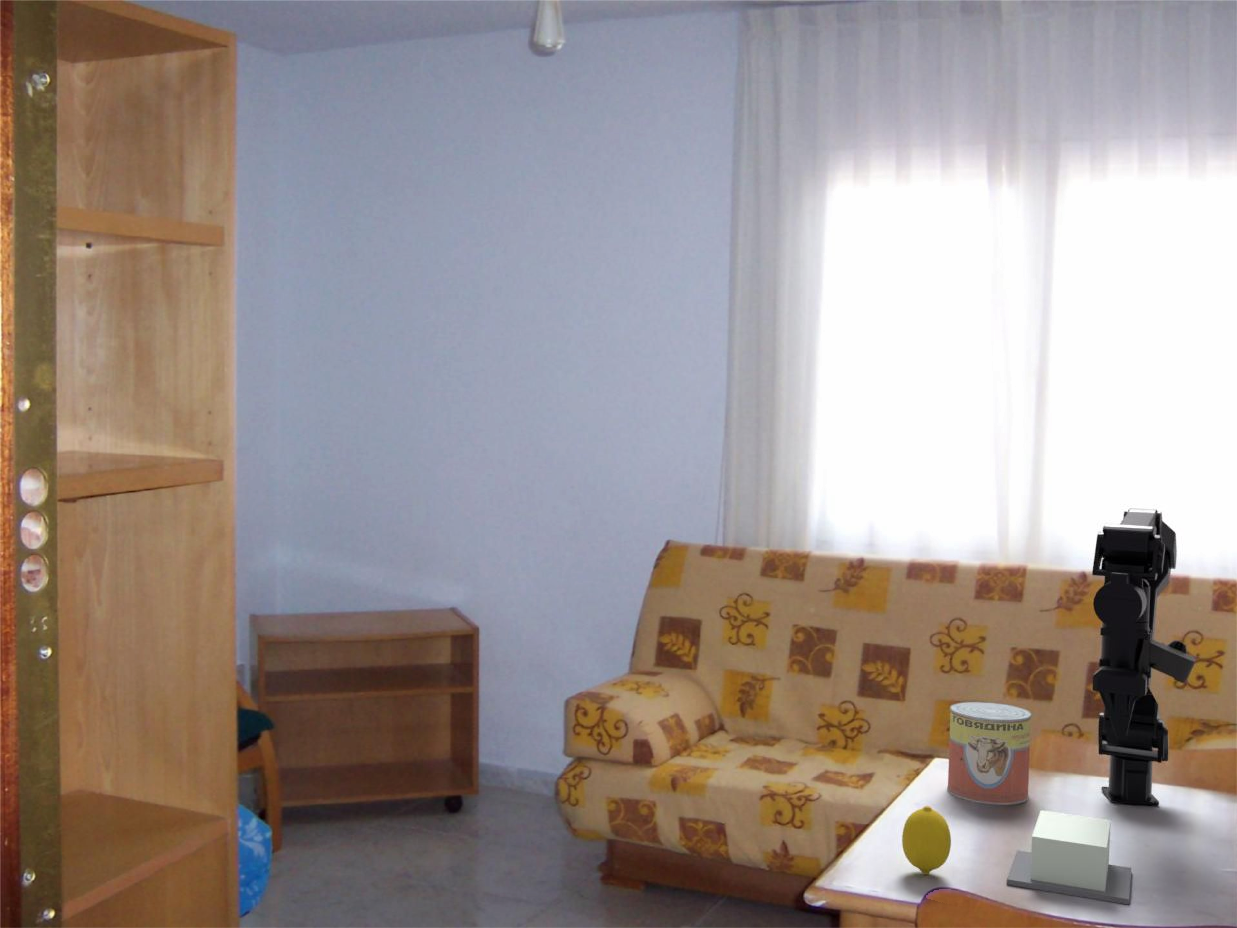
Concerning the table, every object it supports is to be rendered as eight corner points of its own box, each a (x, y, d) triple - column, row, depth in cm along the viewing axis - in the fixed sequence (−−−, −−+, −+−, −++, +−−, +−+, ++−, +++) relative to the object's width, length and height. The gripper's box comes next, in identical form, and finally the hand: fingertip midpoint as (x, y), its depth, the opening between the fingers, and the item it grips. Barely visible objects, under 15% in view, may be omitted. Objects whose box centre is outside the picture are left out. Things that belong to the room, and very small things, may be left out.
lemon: (941, 886, 142) (943, 816, 141) (894, 875, 145) (896, 807, 144) (955, 872, 146) (958, 804, 146) (910, 862, 149) (912, 796, 149)
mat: (1017, 854, 153) (1017, 850, 153) (1131, 872, 148) (1131, 867, 148) (1006, 884, 143) (1006, 878, 143) (1128, 904, 138) (1129, 898, 138)
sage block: (1040, 810, 153) (1031, 836, 143) (1110, 819, 150) (1106, 847, 140) (1039, 850, 153) (1030, 879, 143) (1109, 860, 150) (1104, 891, 140)
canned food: (945, 799, 176) (948, 715, 175) (948, 778, 186) (951, 698, 186) (1029, 808, 172) (1032, 722, 172) (1027, 786, 183) (1030, 705, 183)
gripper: (1191, 633, 152) (1187, 761, 152) (1194, 617, 169) (1189, 732, 169) (1094, 625, 157) (1090, 749, 157) (1106, 610, 173) (1102, 722, 173)
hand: (1121, 738), depth 164 cm, fingers closed
